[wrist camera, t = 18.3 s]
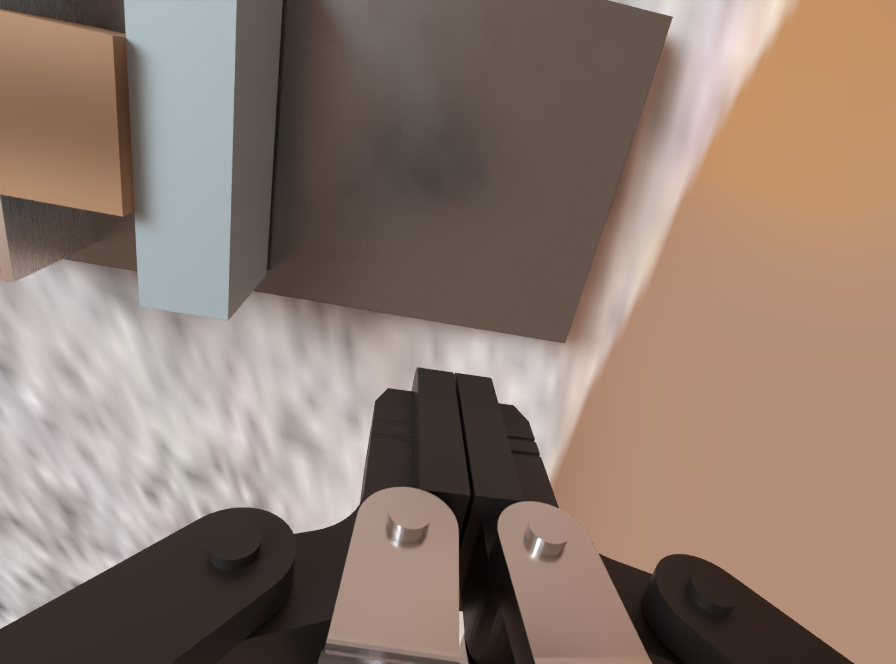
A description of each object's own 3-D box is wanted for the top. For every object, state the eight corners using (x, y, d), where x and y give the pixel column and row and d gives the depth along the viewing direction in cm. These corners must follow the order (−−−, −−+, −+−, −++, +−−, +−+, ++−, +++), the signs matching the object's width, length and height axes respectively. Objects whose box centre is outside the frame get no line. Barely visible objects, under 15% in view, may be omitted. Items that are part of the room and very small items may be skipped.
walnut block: (198, 183, 22) (122, 216, 16) (96, 164, 21) (-18, 191, 16) (199, 49, 20) (112, 35, 14) (85, 24, 19) (-50, -1, 14)
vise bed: (555, 326, 27) (595, 398, 21) (19, 233, 24) (-125, 286, 18) (651, 22, 21) (746, -4, 15) (-36, -151, 18) (-278, -275, 12)
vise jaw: (266, 274, 23) (227, 320, 19) (195, 262, 23) (139, 306, 18) (285, -48, 18) (239, -93, 14) (196, -71, 18) (118, -124, 13)
